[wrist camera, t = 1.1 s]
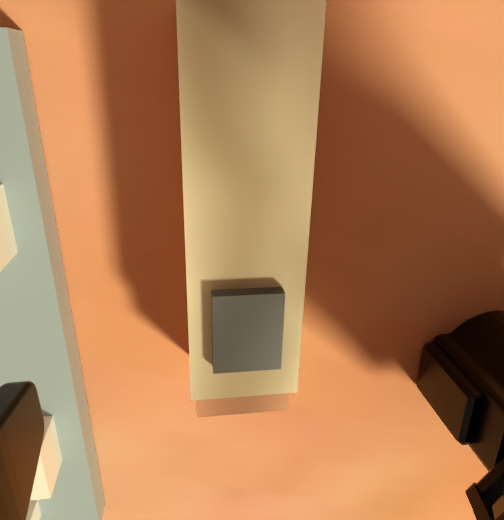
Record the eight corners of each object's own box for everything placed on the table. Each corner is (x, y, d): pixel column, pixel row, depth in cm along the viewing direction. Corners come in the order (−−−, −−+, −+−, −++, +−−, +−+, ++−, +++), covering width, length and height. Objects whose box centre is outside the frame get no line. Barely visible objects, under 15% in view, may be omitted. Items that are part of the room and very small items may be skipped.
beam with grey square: (289, 17, 16) (332, -3, 12) (273, 351, 22) (298, 426, 17) (177, 12, 16) (175, -10, 11) (189, 356, 21) (192, 435, 17)
